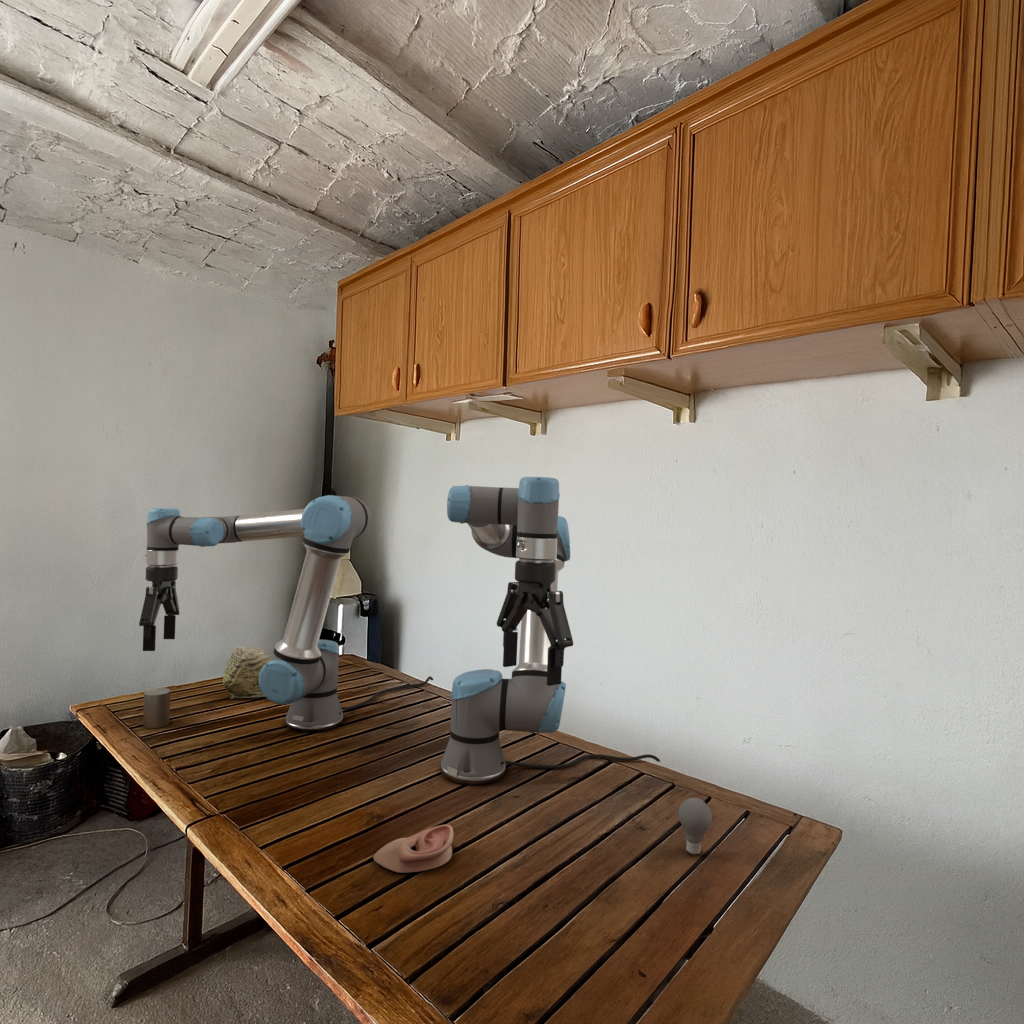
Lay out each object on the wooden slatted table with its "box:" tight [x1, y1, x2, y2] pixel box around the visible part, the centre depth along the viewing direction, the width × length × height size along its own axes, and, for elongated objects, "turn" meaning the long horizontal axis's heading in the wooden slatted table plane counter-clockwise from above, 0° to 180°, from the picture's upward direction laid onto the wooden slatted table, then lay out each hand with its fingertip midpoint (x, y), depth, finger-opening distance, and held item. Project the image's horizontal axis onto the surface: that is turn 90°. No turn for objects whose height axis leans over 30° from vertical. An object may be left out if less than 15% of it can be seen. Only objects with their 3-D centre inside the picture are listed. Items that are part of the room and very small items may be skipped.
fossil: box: [222, 646, 272, 699], centre depth 198 cm, size 9×18×15 cm, turn 132°
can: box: [142, 687, 172, 729], centre depth 170 cm, size 6×6×9 cm
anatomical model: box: [372, 824, 455, 874], centre depth 113 cm, size 13×4×12 cm
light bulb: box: [677, 797, 713, 855], centre depth 118 cm, size 6×6×10 cm
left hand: (159, 644), depth 170 cm, fingers open, 13 cm apart
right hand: (530, 674), depth 117 cm, fingers open, 13 cm apart
